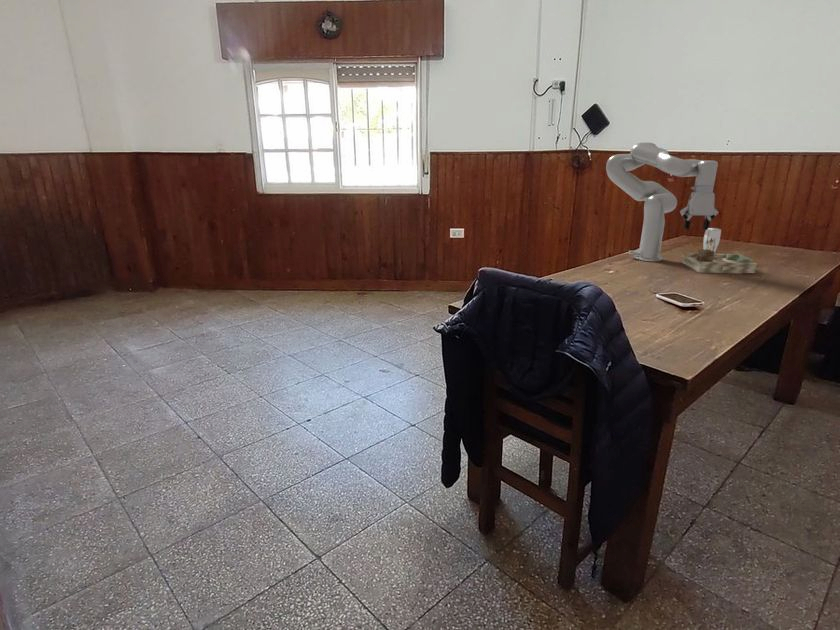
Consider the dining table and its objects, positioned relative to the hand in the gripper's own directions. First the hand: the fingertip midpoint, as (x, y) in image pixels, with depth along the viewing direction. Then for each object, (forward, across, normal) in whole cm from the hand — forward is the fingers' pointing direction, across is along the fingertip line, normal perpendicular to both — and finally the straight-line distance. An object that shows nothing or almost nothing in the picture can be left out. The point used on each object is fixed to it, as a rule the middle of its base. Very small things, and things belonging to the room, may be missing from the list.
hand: (695, 228), depth 229 cm
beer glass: (+18, +16, +19) cm, 31 cm away
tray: (+18, +12, 0) cm, 22 cm away
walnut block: (+15, +6, 0) cm, 16 cm away
